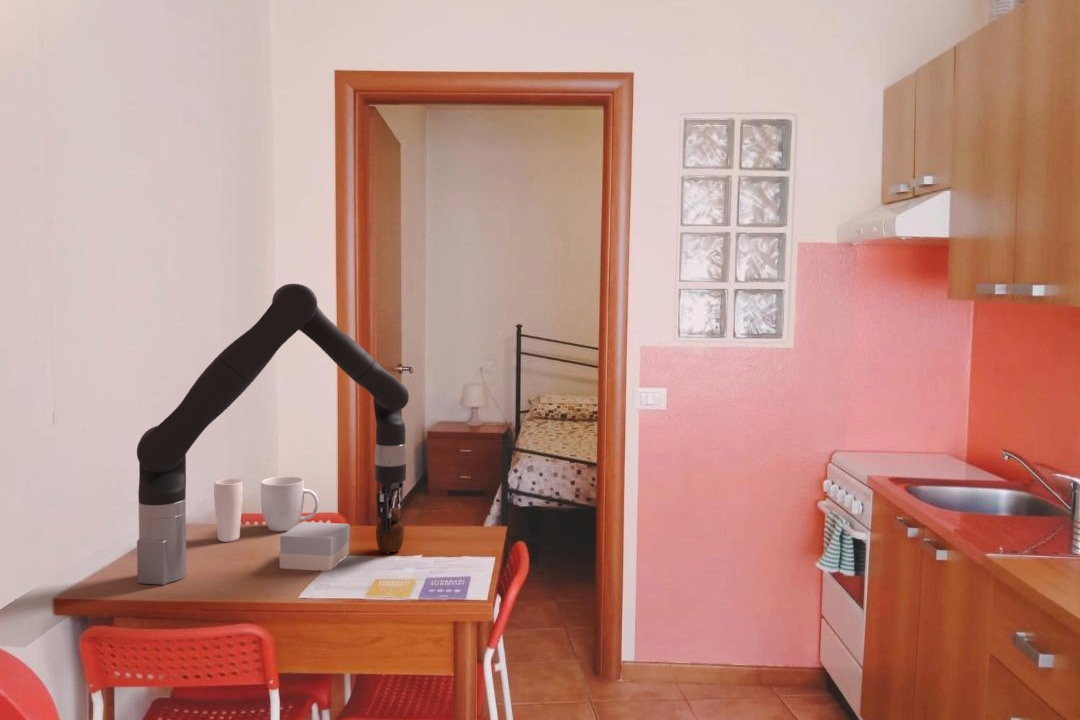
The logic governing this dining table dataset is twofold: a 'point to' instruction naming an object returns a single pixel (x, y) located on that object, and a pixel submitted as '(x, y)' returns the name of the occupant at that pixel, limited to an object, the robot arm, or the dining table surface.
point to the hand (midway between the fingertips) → (390, 528)
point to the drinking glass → (228, 508)
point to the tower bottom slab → (313, 560)
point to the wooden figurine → (391, 533)
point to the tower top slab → (315, 538)
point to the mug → (284, 502)
